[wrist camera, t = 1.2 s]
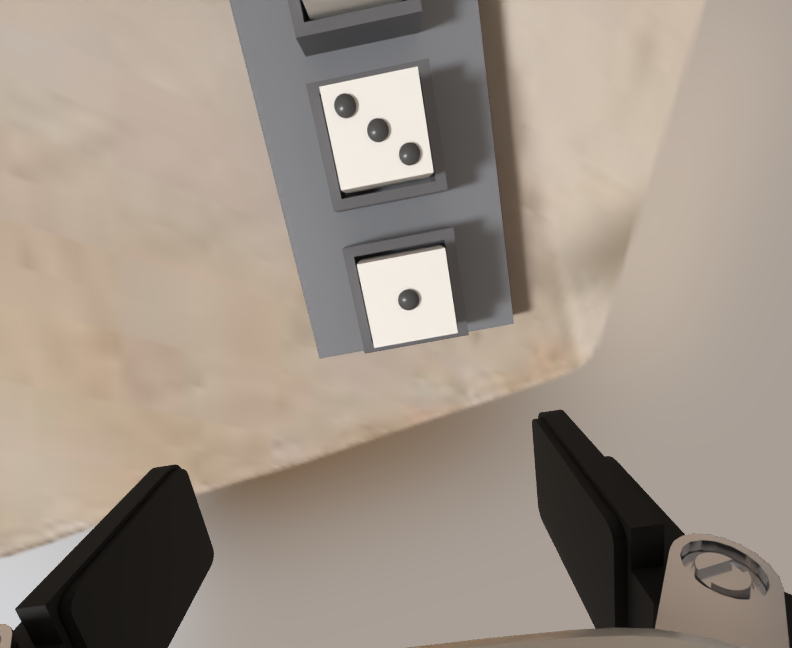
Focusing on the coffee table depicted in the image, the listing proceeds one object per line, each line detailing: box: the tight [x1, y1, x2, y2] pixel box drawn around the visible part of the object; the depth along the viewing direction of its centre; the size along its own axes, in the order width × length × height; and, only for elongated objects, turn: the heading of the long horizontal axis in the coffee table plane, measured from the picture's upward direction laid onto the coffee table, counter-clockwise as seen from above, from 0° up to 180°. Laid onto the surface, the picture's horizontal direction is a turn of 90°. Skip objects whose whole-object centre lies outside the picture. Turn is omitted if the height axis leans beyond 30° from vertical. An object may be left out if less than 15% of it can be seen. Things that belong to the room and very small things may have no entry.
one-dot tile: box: [357, 245, 458, 348], centre depth 24 cm, size 5×5×3 cm
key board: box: [230, 0, 514, 358], centre depth 24 cm, size 26×14×4 cm, turn 11°
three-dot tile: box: [319, 66, 434, 194], centre depth 21 cm, size 5×5×3 cm
